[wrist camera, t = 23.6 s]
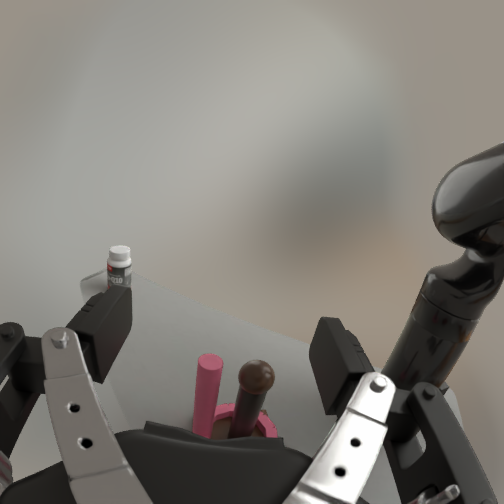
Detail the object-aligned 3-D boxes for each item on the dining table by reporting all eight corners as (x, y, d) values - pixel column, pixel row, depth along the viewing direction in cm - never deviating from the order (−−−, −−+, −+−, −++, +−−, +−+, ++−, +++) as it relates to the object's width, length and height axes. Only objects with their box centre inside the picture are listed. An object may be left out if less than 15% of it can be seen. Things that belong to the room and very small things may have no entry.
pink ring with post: (271, 412, 29) (297, 341, 26) (278, 471, 21) (315, 408, 18) (196, 404, 29) (203, 329, 25) (188, 464, 21) (191, 398, 17)
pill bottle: (103, 291, 48) (101, 250, 45) (116, 281, 52) (116, 242, 50) (123, 298, 48) (122, 256, 45) (135, 287, 52) (136, 247, 49)
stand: (264, 414, 30) (291, 335, 26) (281, 467, 23) (323, 396, 19) (197, 415, 28) (205, 333, 24) (204, 474, 21) (215, 403, 17)
